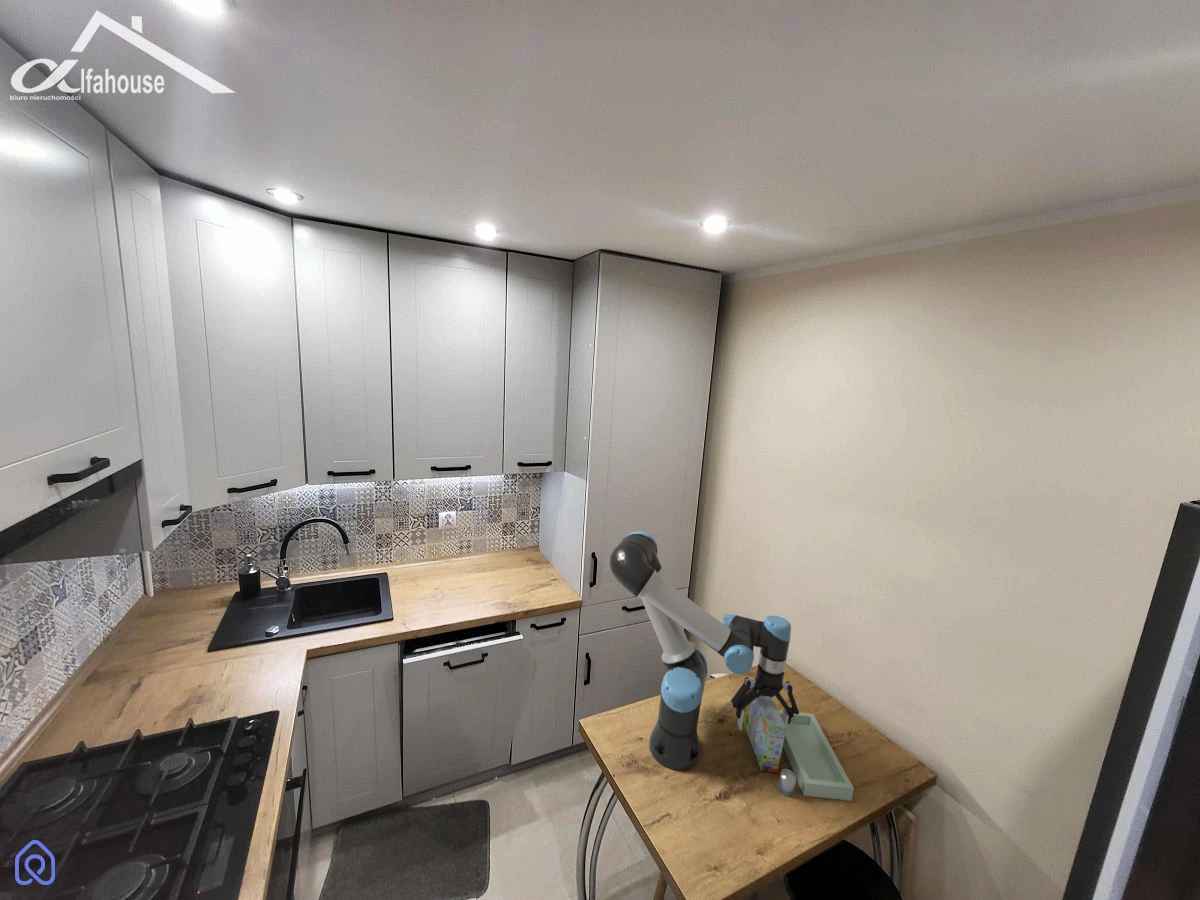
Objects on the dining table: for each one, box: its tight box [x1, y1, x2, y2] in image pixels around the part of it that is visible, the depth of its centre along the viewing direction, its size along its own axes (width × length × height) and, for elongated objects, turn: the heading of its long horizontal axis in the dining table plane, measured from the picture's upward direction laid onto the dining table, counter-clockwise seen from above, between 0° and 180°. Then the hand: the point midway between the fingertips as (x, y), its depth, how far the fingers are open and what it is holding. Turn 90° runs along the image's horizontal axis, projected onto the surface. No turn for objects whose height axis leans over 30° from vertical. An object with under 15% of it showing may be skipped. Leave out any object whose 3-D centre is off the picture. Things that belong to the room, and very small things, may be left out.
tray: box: [777, 709, 855, 802], centre depth 142 cm, size 13×28×4 cm, turn 177°
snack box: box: [743, 678, 786, 773], centre depth 144 cm, size 21×6×15 cm, turn 179°
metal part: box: [777, 768, 797, 798], centre depth 129 cm, size 4×4×5 cm
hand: (761, 729), depth 144 cm, fingers open, 13 cm apart
